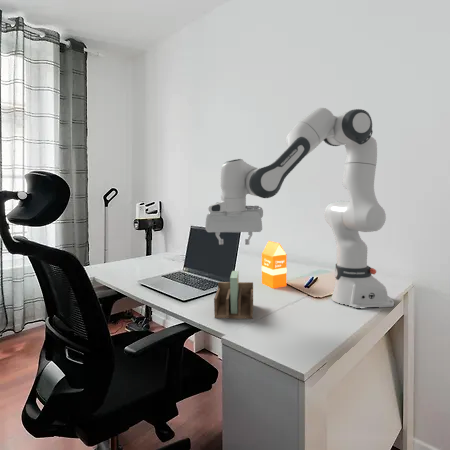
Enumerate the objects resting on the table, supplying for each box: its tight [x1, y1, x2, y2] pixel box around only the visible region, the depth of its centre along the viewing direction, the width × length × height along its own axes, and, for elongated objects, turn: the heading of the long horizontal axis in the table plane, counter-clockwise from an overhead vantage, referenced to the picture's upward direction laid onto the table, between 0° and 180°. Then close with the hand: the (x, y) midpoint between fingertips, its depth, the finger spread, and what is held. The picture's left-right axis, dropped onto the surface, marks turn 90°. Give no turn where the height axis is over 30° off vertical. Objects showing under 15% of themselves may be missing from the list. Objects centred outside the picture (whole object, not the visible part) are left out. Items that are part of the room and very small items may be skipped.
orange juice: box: [261, 240, 288, 289], centre depth 151 cm, size 8×9×20 cm
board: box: [229, 270, 240, 314], centre depth 120 cm, size 2×9×13 cm, turn 174°
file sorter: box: [213, 281, 254, 320], centre depth 121 cm, size 13×13×9 cm
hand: (234, 244), depth 118 cm, fingers open, 8 cm apart
